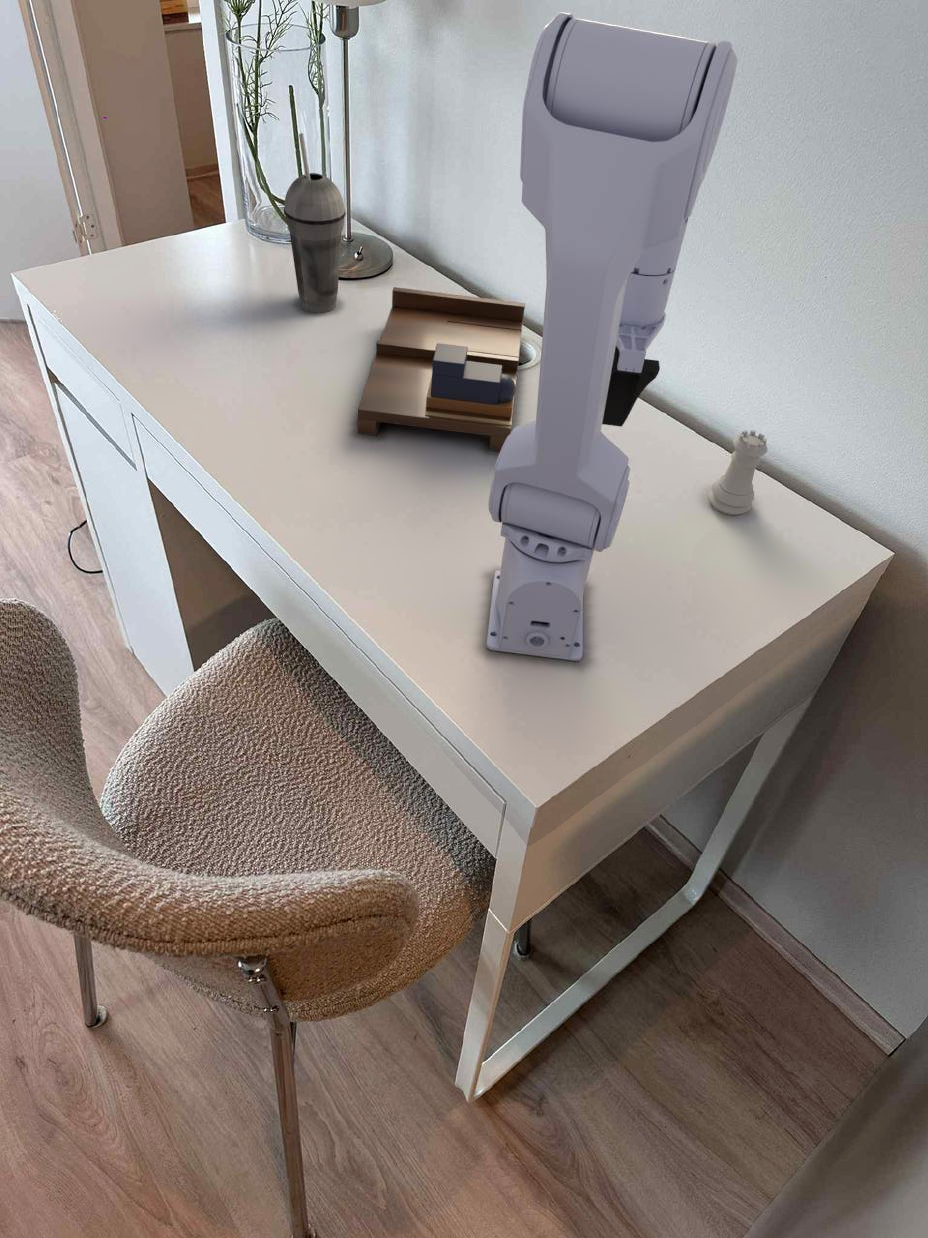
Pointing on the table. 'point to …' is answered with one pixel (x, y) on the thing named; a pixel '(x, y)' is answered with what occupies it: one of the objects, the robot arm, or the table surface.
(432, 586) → the table surface
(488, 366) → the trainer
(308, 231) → the beverage cup
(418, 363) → the shoe shelf
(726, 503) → the rook chess piece
